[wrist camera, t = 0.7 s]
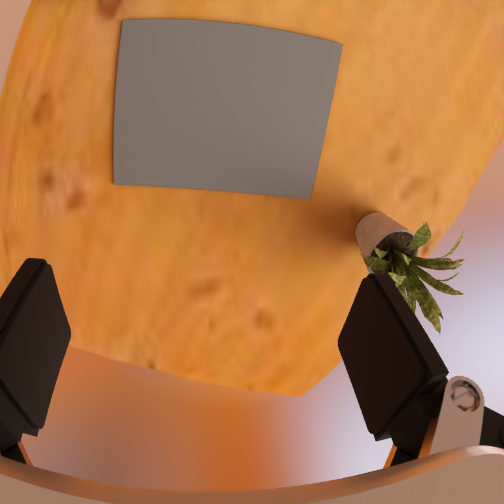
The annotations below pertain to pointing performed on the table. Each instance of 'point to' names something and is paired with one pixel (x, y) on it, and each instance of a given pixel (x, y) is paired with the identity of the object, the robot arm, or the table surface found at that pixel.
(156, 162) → the mat
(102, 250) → the table surface
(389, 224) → the house plant
